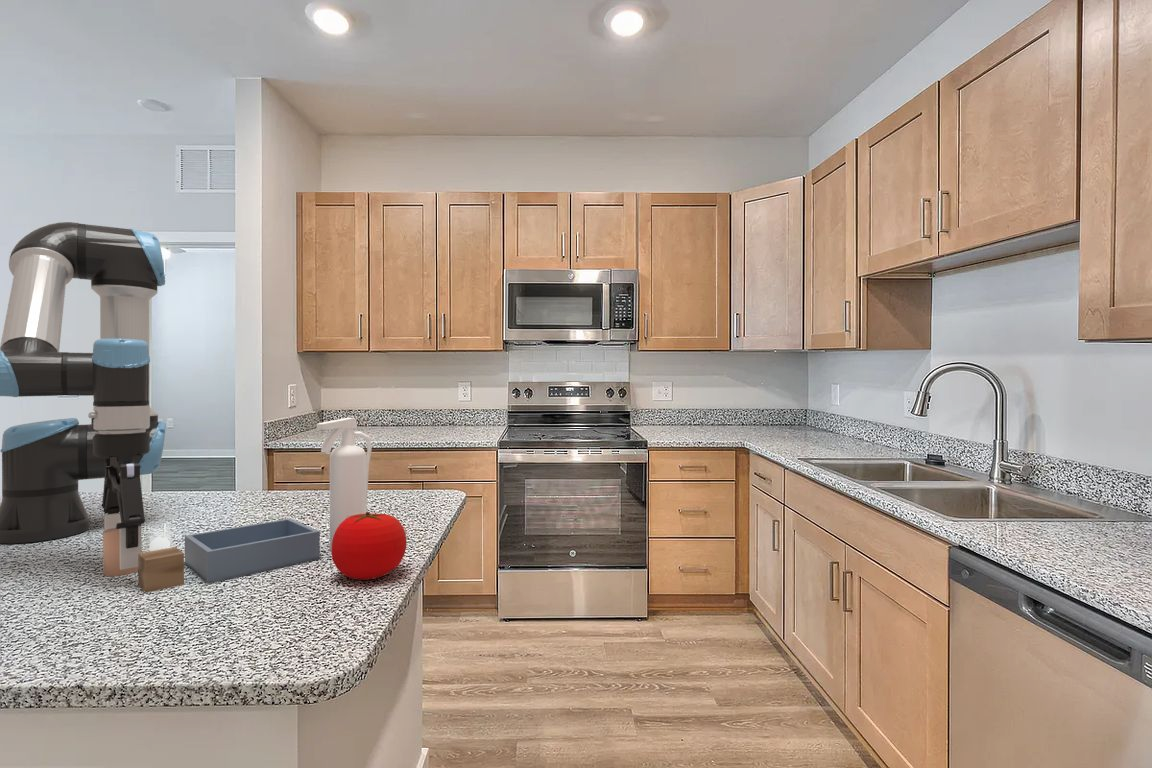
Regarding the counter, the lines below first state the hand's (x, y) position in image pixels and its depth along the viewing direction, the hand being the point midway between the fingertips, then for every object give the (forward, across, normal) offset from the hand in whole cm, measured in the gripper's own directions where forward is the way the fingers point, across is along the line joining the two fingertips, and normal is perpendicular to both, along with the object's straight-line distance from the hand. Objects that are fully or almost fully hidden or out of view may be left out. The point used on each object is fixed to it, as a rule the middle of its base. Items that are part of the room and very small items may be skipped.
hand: (122, 559), depth 99 cm
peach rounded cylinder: (+2, 0, 0) cm, 2 cm away
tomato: (+3, +31, +28) cm, 42 cm away
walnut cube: (+2, +12, +3) cm, 12 cm away
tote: (+2, +10, +17) cm, 20 cm away
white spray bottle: (+2, +14, +33) cm, 36 cm away
